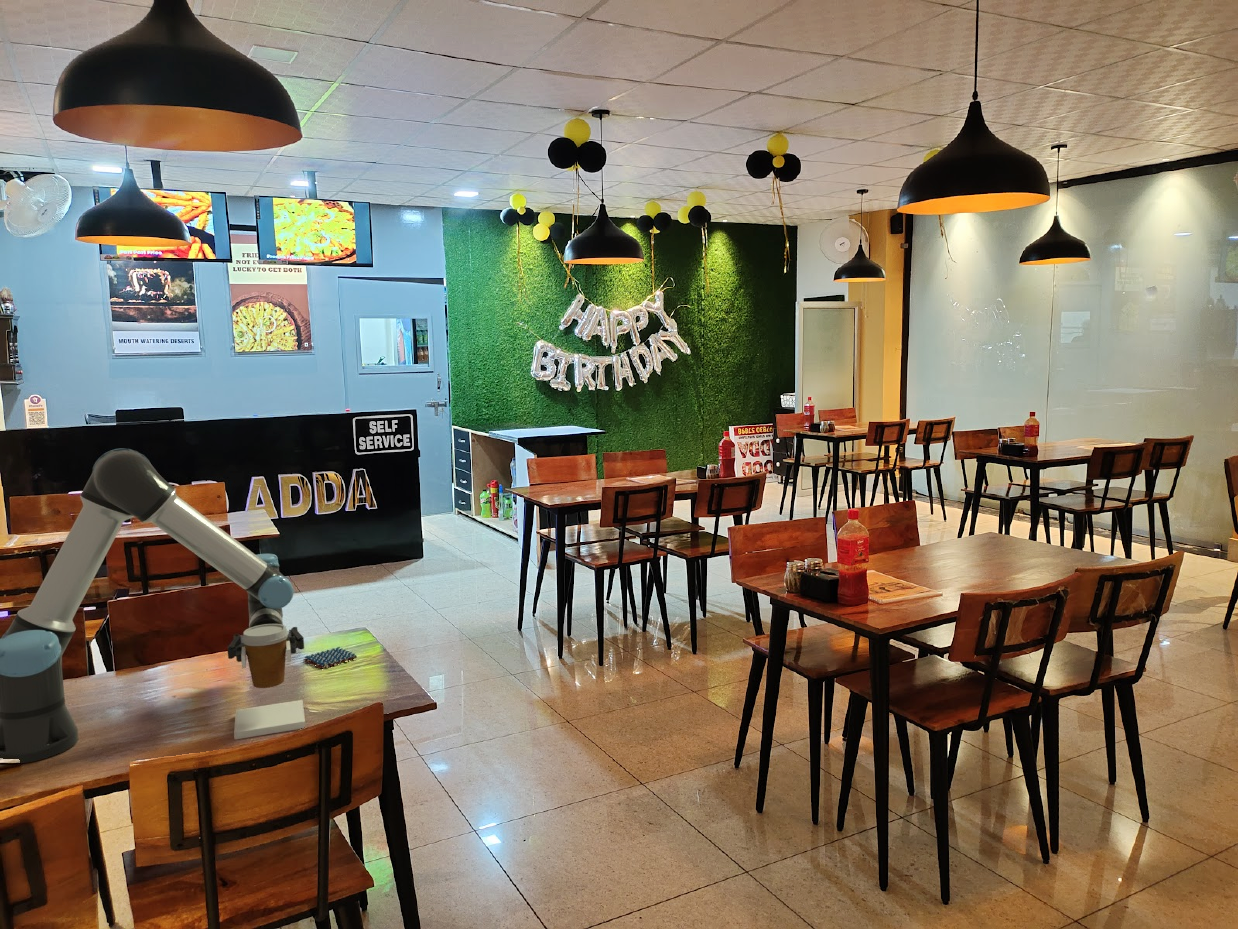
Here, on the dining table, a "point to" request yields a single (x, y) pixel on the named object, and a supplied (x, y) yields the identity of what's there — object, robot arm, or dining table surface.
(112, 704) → the dining table surface
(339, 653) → the woven mat
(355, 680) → the dining table surface
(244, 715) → the pad
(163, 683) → the dining table surface
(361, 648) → the dining table surface
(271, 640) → the disposable coffee cup
